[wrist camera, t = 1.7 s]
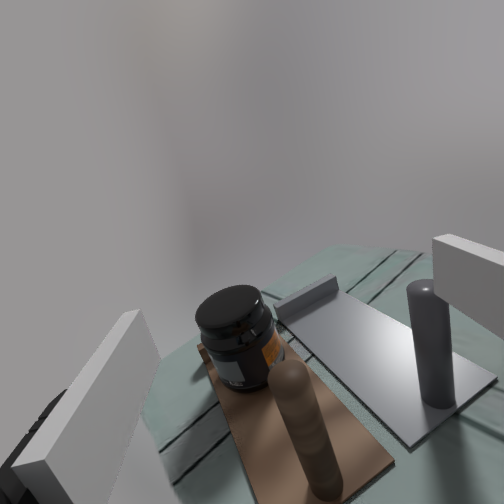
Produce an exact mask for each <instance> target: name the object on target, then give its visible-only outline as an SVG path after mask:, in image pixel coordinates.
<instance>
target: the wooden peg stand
mask: <svg viewBox="0 0 504 504" xmlns="http://www.w3.org/2000/svg"><path fill="white" fill-rule="evenodd" d="M278 335H279V334H278ZM279 338H280V341H281V344H282V346H283V348H284V351H285V360H284V361H281V362H279V363H277V364H276V365H275V366H274V367H273V368H272V369H271V370H270V372H269V374H268V384H269V386H267V387H266V388H264V389H262V390H260V391H257V392H253V393H248V394H241V393H236V392H233V391H231V390H229V389H227V388H226V387H225V386H224V385H223V384H222V382H221V380H220V378H219V375H218V373H217V371H216V369H215V367H214V365H213V363H212V361H211V358H210V356H209V354H208V352H207V350H206V349H205V348H204V346H203V344H202V343H200V344H199V345H197V348H198V351H199V353H200V355H201V357H202V359H203V361H204V363H205V365H206V368H207V370H208V373H209V375H210V378H211V381H212V383H213V386H214V388H215V391H216V394H217V396H218V399H219V402H220V404H221V407H222V409H223V412H224V415H225V417H226V420H227V422H228V425H229V428H230V430H231V433H232V436H233V438H234V441H235V443H236V446H237V449H238V451H239V454H240V456H241V459H242V462H243V464H244V467H245V470H246V472H247V475H248V477H249V480H250V483H251V485H252V488H253V491H254V493H255V496H256V498H257V501H258V504H343V503H344V502H345V501H346V500H348V499H349V498H350V497H351V496H353V495H354V494H355V493H356V492H358V491H359V490H360V489H361V488H362V487H364V486H365V485H366V484H367V483H369V482H370V481H371V480H372V479H374V478H375V477H376V476H377V475H379V474H380V473H381V472H382V471H383V470H385V469H386V468H387V467H388V466H390V465H391V464H392V463H393V462H395V460H394V458H393V457H392V456H391V455H390V454H389V453H388V452H387V451H386V450H385V449H384V448H383V446H382V445H381V444H380V443H379V442H378V441H377V440H376V439H375V438H374V437H373V436H372V435H371V433H370V432H369V431H368V430H367V429H366V428H365V427H364V426H363V425H362V424H361V423H360V422H359V420H358V419H357V418H356V417H355V416H354V415H353V414H352V413H351V412H350V411H349V410H348V409H347V407H346V406H345V405H344V404H343V403H342V402H341V401H340V400H339V399H338V398H337V397H336V396H335V394H334V393H333V392H332V391H331V390H330V389H329V388H328V387H327V386H326V385H325V384H324V383H323V381H322V380H321V379H320V378H319V377H318V376H317V375H316V374H315V373H314V372H313V371H312V370H311V368H310V367H309V366H308V365H307V364H306V363H305V362H304V361H303V360H302V359H301V358H300V357H299V355H298V354H297V353H296V352H295V351H294V350H293V349H292V348H291V347H290V346H289V345H288V344H287V342H286V341H285V340H284V339H283V338H282V337H281V336H280V335H279Z"/></svg>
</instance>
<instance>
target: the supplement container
mask: <svg viewBox="0 0 504 504" xmlns="http://www.w3.org/2000/svg"><path fill="white" fill-rule="evenodd" d="M195 321H196V323H197V325H198V327H199V329H200V331H201V342H202V344H203V346H204V348H205V349H206V350H207V352H208V354H209V356H210V358H211V361H212V363H213V365H214V367H215V369H216V371H217V373H218V375H219V378H220V380H221V382H222V384H223V385H224V386H225V387H226V388H227V389H229V390H231V391H233V392H236V393H241V394H248V393H253V392H257V391H260V390H262V389H264V388H266V387H267V386H269V384H268V374H269V372H270V370H271V369H272V368H273V367H274V366H275V365H276V364H277V363H279V362H281V361H284V360H285V351H284V348H283V346H282V344H281V341H280V338H279V335H278V333H277V330H276V327H275V324H274V321H273V317H272V313H271V311H270V309H269V307H268V306H267V305H266V304H264V301H263V299H262V296H261V293H260V291H259V290H258V289H257V288H255V287H253V286H250V285H236V286H231V287H228V288H225V289H222V290H220V291H218V292H216V293H214V294H213V295H211V296H210V297H209V298H207V299H206V300H205V301H204V302H203V303H202V304H201V305H200V306H199V308H198V309H197V311H196V315H195Z"/></svg>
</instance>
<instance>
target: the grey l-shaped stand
mask: <svg viewBox="0 0 504 504" xmlns="http://www.w3.org/2000/svg"><path fill="white" fill-rule="evenodd" d="M406 290H407V297H408V305H409V312H410V320H411V327H412V329H410V328H409V327H407V326H405V325H403V324H401V323H400V322H398V321H396V320H394V319H392V318H390V317H389V316H387V315H385V314H383V313H381V312H379V311H378V310H376V309H374V308H372V307H370V306H368V305H367V304H365V303H363V302H361V301H359V300H357V299H356V298H354V297H352V296H350V295H348V294H347V293H345V292H343V291H341V290H339V287H338V283H337V279H336V276H335V275H333V274H329V275H327V276H325V277H323V278H321V279H319V280H318V281H316V282H314V283H312V284H310V285H308V286H306V287H304V288H303V289H301V290H299V291H297V292H295V293H293V294H291V295H290V296H288V297H286V298H284V299H282V300H280V301H278V302H277V303H275V304H273V306H274V309H275V312H276V315H277V317H278V319H279V320H280V321H281V322H282V323H283V324H284V325H285V326H286V327H287V328H288V329H289V330H290V331H291V332H292V333H293V334H294V335H295V336H296V337H297V338H298V339H299V340H300V341H301V342H302V343H303V344H304V345H305V346H306V347H307V348H308V349H309V350H310V351H311V352H312V353H313V354H314V355H315V356H316V357H317V358H318V359H319V360H320V361H321V362H322V363H323V364H324V365H325V366H326V367H327V368H328V369H329V370H330V371H332V372H333V373H334V374H335V375H336V376H337V377H338V378H339V379H340V380H341V381H342V382H343V383H344V384H345V385H346V386H347V387H348V388H349V389H350V390H351V391H352V392H353V393H354V394H355V395H356V396H357V397H358V398H359V399H360V400H361V401H362V402H363V403H364V404H365V405H366V406H367V407H368V408H369V409H370V410H371V411H372V412H373V413H374V414H375V415H376V416H377V417H378V418H379V419H380V420H381V421H382V422H383V423H384V424H385V425H386V426H387V427H388V428H389V429H391V430H392V431H393V432H394V433H395V434H396V435H397V436H398V437H399V438H400V439H401V440H402V441H403V442H404V443H405V444H406V445H407V446H408V447H409V448H412V447H413V446H414V445H415V444H417V443H418V442H419V441H420V440H421V439H423V438H424V437H425V436H426V435H428V434H429V433H430V432H431V431H433V430H434V429H435V428H436V427H438V426H439V425H440V424H441V423H443V422H444V421H445V420H446V419H447V418H449V417H450V416H451V415H452V414H454V413H455V412H456V411H457V410H459V409H460V408H461V407H462V406H464V405H465V404H466V403H467V402H469V401H470V400H471V399H472V398H473V397H475V396H476V395H477V394H478V393H480V392H481V391H482V390H483V389H485V388H486V387H487V386H488V385H490V384H491V383H492V382H493V381H495V380H496V379H497V376H496V375H495V374H493V373H491V372H489V371H487V370H485V369H484V368H482V367H480V366H478V365H476V364H474V363H473V362H471V361H469V360H467V359H465V358H463V357H462V356H460V355H458V354H456V353H454V352H453V351H452V343H451V328H450V314H449V303H447V302H446V301H444V300H443V299H441V298H440V297H438V296H437V295H435V294H434V280H432V279H421V280H416V281H414V282H412V283H410V284H409V285H408V286H407V288H406Z"/></svg>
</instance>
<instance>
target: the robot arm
mask: <svg viewBox="0 0 504 504" xmlns="http://www.w3.org/2000/svg"><path fill="white" fill-rule="evenodd" d="M432 248H433V249H432V250H433V279H434V294H435V295H437V296H438V297H440V298H441V299H443V300H444V301H446V302H447V303H449V304H450V305H452V306H453V307H455V308H456V309H458V310H459V311H461V312H462V313H464V314H465V315H467V316H468V317H470V318H471V319H473V320H474V321H476V322H477V323H479V324H480V325H482V326H483V327H485V328H486V329H488V330H489V331H491V332H492V333H494V334H495V335H497V336H498V337H500V338H501V339H503V340H504V252H501V251H499V250H495V249H492V248H490V247H487V246H484V245H481V244H478V243H475V242H472V241H469V240H466V239H463V238H461V237H457V236H455V235H452V234H446V235H442V236H438V237H434V238H432ZM160 360H161V358H160V355H159V353H158V350H157V348H156V345H155V343H154V341H153V338H152V336H151V333H150V331H149V328H148V326H147V324H146V322H145V319H144V316H143V314H142V311H141V309H137V310H133V311H129V312H125V313H123V314H122V316H121V317H120V319H119V320H118V322H117V323H116V324H115V325H114V327H113V328H112V329H111V331H110V332H109V334H108V335H107V336H106V338H105V339H104V340H103V342H102V343H101V345H100V346H99V347H98V349H97V350H96V351H95V353H94V354H93V355H92V357H91V358H90V360H89V361H88V362H87V364H86V365H85V366H84V368H83V369H82V370H81V372H80V373H79V375H78V376H77V378H76V379H75V380H74V381H73V383H72V384H71V386H70V387H69V388H68V389H66V390H64V391H63V392H62V393H60V394H59V395H58V396H57V397H56V398H55V399H54V400H53V401H52V402H51V403H49V405H48V406H47V407H46V409H45V410H44V412H42V414H41V415H40V416H39V418H38V421H36V422H35V423H34V425H33V426H32V427H31V428H30V430H29V433H28V434H26V435H25V436H24V437H23V439H22V440H21V441H20V443H19V444H18V445H17V447H16V448H15V449H14V451H13V452H12V453H11V454H10V456H9V457H8V458H7V460H6V461H5V462H4V464H3V465H2V466H1V468H0V504H107V502H108V500H109V497H110V495H111V492H112V489H113V486H114V484H115V481H116V479H117V476H118V473H119V470H120V468H121V465H122V462H123V460H124V457H125V454H126V451H127V449H128V446H129V443H130V441H131V438H132V436H133V433H134V430H135V427H136V425H137V422H138V419H139V417H140V414H141V411H142V409H143V406H144V403H145V401H146V398H147V395H148V392H149V390H150V387H151V384H152V382H153V379H154V376H155V374H156V371H157V368H158V366H159V363H160Z"/></svg>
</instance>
